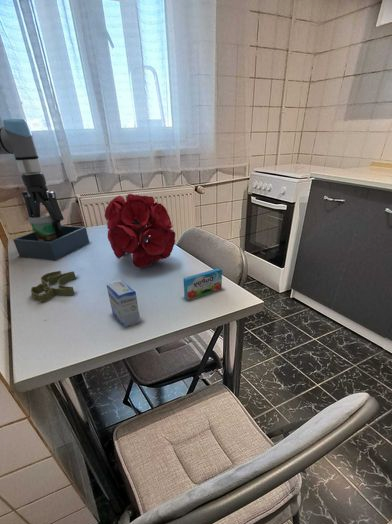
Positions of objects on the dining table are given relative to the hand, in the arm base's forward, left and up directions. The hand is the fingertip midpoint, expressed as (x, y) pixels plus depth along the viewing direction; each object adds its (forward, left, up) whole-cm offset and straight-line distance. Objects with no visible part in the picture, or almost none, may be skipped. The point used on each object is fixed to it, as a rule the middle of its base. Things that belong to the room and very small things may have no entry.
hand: (52, 238), depth 119 cm
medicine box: (+57, -41, -5) cm, 70 cm away
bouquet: (+42, -4, -5) cm, 42 cm away
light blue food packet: (+72, -23, -5) cm, 75 cm away
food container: (0, 0, -1) cm, 1 cm away
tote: (0, 0, -4) cm, 4 cm away
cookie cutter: (+26, -31, -5) cm, 41 cm away
